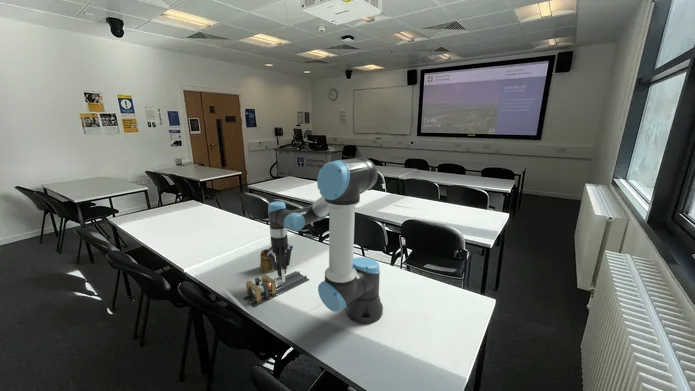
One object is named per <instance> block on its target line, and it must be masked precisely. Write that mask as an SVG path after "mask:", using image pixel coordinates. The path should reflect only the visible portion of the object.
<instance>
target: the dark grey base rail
mask: <svg viewBox="0 0 695 391" xmlns="http://www.w3.org/2000/svg"><path fill="white" fill-rule="evenodd" d="M307 276H308V275H303V274H301V272H300V271H296V270H295V271H293V272H291V273H289V274H285V282H283V285H281V286H279V287H277V288H276V293H277V294H276V295H274V296H272V295H271V291H269V298H268V299H265V293H264V294H262V295H261V301H262V302H260V303H258V304H257V303H256V298H254V297H253V296H252V294H251V293H250V294H247V292H246V293H244V294H242V295H240V297H241V298H243V300H244V301H246V303H247V304H249V305H250V307H252V308H256V307H258V306H259V305H262V304H264V303H266V302H268V301H270V300H273V299H274V298H276V297H278V296H280V295H282V294H285V293H286V292H287V293H288V291H290V290H293V289H295V288H296V287H298V286H301V285H302V284H305V283H307V282H309V281H311V279H309V278H308V277H307Z"/></svg>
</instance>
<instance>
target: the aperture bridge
mask: <svg viewBox="0 0 695 391" xmlns="http://www.w3.org/2000/svg"><path fill="white" fill-rule="evenodd" d="M254 282H255V283H254V284H255V285H256V286H258V285H260V284H261V285H262V286H263V287H264V293H265V299H268V298H269V290H268V285H267V284H266V283H265V282H264V283H262V279H261V278H259V277H256V278H254Z"/></svg>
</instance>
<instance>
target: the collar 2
mask: <svg viewBox="0 0 695 391" xmlns="http://www.w3.org/2000/svg"><path fill="white" fill-rule="evenodd" d="M260 279H261V284H262V283H264V282H268V283H270V284H271V295H272V296H274V295H276V294H277V293H276V282H275V281H274V280H272V279H273V278H272V277H270V276H268V275H267V273H263V275H261V277H260Z"/></svg>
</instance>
